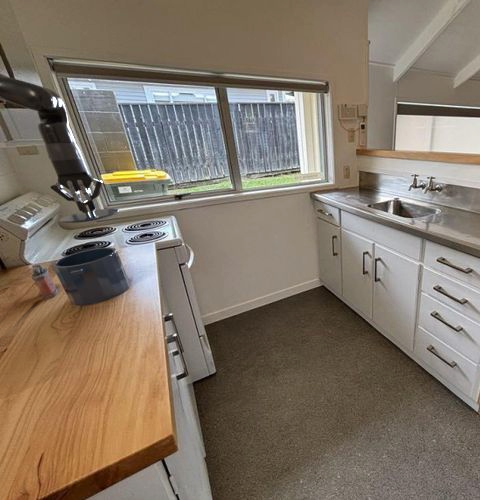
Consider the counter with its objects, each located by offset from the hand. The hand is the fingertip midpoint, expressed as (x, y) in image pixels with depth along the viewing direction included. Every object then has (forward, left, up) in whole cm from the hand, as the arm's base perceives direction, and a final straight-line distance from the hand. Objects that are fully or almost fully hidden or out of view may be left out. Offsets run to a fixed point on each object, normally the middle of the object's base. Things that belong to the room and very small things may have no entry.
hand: (89, 211), depth 95 cm
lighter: (-15, -9, -23) cm, 29 cm away
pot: (0, -18, -23) cm, 29 cm away
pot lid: (0, 0, -2) cm, 2 cm away
